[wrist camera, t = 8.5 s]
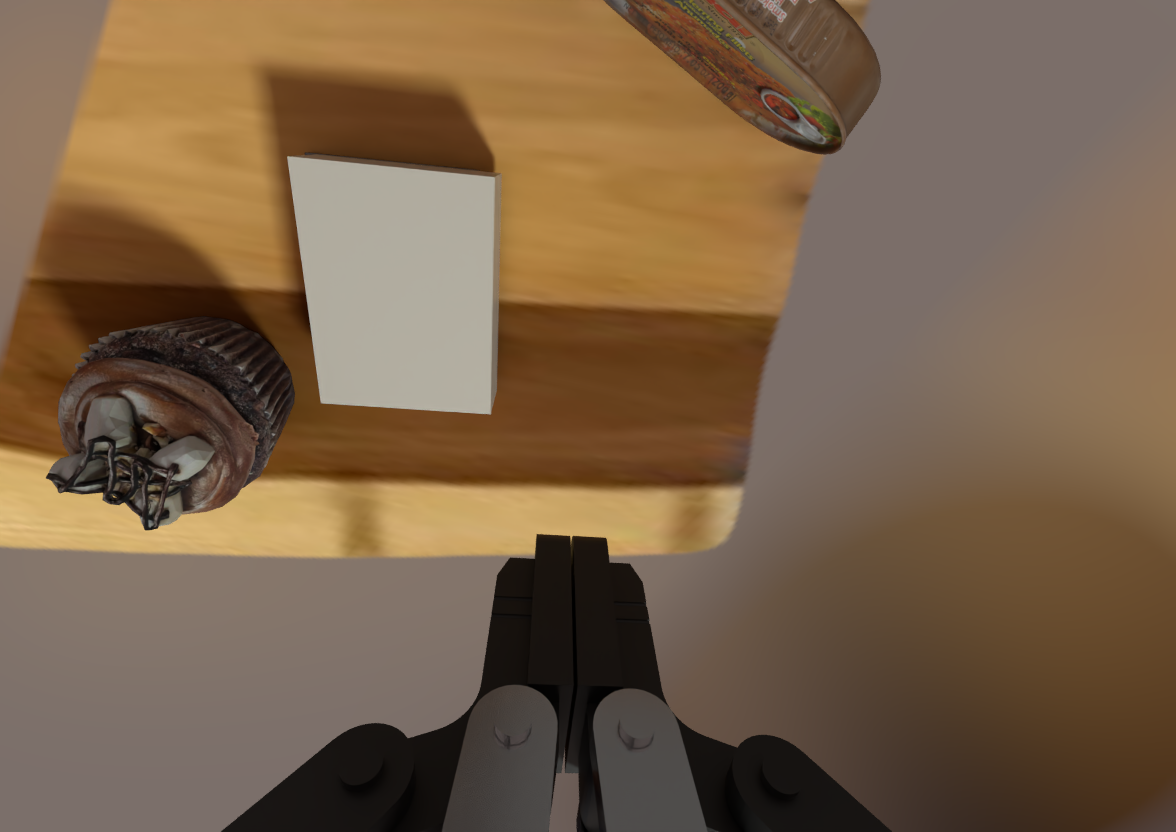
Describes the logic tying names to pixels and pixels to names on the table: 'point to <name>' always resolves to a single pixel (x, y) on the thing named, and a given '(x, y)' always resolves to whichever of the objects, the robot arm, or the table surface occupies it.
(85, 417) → the cupcake
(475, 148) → the table surface
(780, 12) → the tin
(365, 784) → the robot arm
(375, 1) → the table surface
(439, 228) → the tile
